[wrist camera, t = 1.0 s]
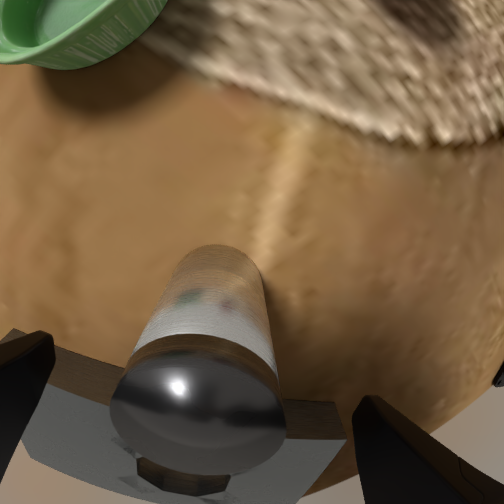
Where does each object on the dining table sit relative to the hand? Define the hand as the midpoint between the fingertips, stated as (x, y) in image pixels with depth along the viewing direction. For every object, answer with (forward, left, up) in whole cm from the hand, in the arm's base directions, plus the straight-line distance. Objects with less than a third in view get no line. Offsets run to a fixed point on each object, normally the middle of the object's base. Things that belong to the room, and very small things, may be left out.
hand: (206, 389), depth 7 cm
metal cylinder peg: (0, 0, -6) cm, 6 cm away
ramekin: (+9, -13, -7) cm, 17 cm away
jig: (+2, +11, -6) cm, 13 cm away
